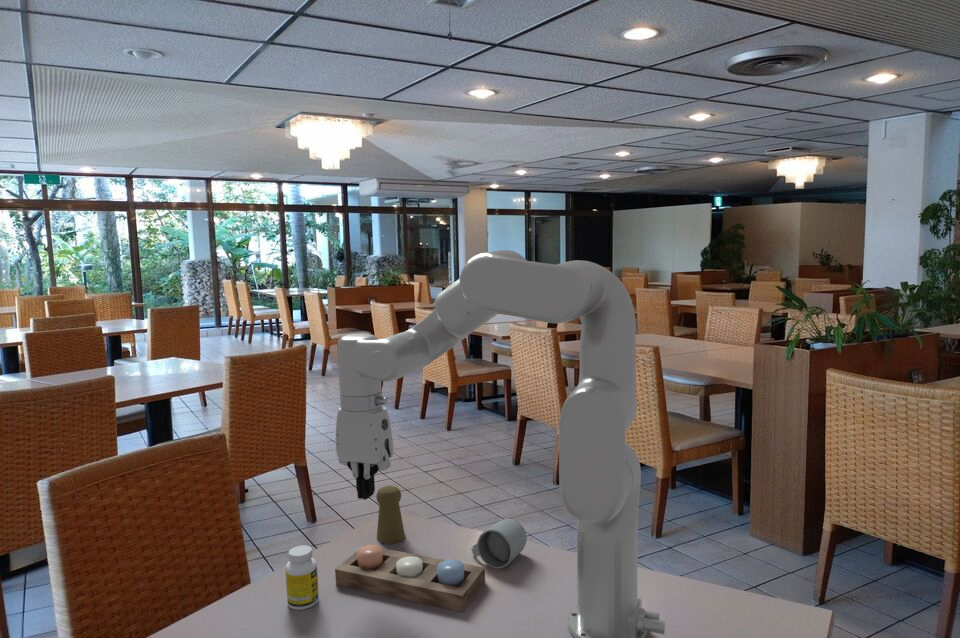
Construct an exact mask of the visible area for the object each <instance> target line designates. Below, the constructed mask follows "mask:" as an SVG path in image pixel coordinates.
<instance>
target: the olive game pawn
mask: <svg viewBox="0 0 960 638" xmlns="http://www.w3.org/2000/svg"><path fill="white" fill-rule="evenodd" d="M375 495H376V501H377V503H378V518H377V530H376V531H377V532H376V541H377V542H379V543H381V544H387V545H389V544H390V545H391V544H396V543H400V542H402V541H403V540H404V539H405V537H406V534H405V528H404V523H403V519H402V512H401V507H400V501H401V499H402V492H401V489H400V488H399V487H398V486H396V485H385V486H382V487H380V488H378V490H377V492H376V494H375Z"/></svg>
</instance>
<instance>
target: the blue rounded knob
mask: <svg viewBox="0 0 960 638" xmlns="http://www.w3.org/2000/svg"><path fill="white" fill-rule="evenodd" d="M444 560H445V561H442V562H440V563H439V564H438V566H437V572H438V583H439V584H444V585H449V586H454V587H459V586H460V585H461V584H462V583H463V581H464V564H465V563H463V562H462V561H461V560H459V559H444Z"/></svg>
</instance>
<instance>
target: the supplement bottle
mask: <svg viewBox="0 0 960 638" xmlns="http://www.w3.org/2000/svg"><path fill="white" fill-rule="evenodd" d="M317 564H318V563H317V561H316V559H315V558H313V548H312V547H311V546H309V545H304V544H303V545H297V546H294V547H292V548H291V549H289V550H288V562H287V563H286V565H285V570H284V571H285V581H286V599H287V606H288V607H289V608H291V609H293V610H294V611H295V610H296V611H300V610H306V609H311V608H313V606H315V605H317V603H318V601H319V596H320V595H319V577H318V575H319V574H318V566H317Z"/></svg>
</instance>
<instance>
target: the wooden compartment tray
mask: <svg viewBox="0 0 960 638" xmlns="http://www.w3.org/2000/svg"><path fill="white" fill-rule="evenodd" d="M366 545H367V544H364V545H363V546H366ZM382 549H383V564H381V565H380V566H379V567H378V568H377V569H376V570H371V569H366V568H361V567H358V562H357V551H356V552H355V551H354V553H353V554H352V555H350V557H348V558H347V559H345V560H344V561H343V562H342V563H340V564H339V566H337V567H336V568H335V569H334V573H335V576H334V577H335V584H336V585H338V586H342V587H343V586H344V587H348V588H352V589H356V590H360V591H365V592H370V593H374V594H379V595H383V596H388V597H393V598H398V599H401V600H404V601H405V600H406V601H411V602H415V603H419V604H424V605H428V606H433V607H438V608H443V609H447V610H452V611H456V612H461V613H464V611H466V609H467V607H468V606H469V605H470V603H471V602H472V601H473V599H475V597H476V595H478V592H479V591H480V590H481V589H482V588H483V586H484V585H485V583H486V570H485V569H486V568H485V567H484V566H479V565H473V564H469V563H463V564H464V581H463V583H462V584H461V585H460V586H459V587H454V586H449V585H444V584H439V583H438V572H437V566H438V564H439V563H440V562H442V561H445V560H446V559H441V558H436V557H431V556H426V555H421V554H414V553H409V552H404V551H401V550H400V551H399V550H394V549H387V548H382ZM409 556H414V557H418V558H420V559H421V560H422V566H423V572H422V573H421V574H420V575H419V576H418V577H417V578H416V579H415V578H410V577H405V576H400V575H397V569H396V563H397V561H398V560H399V559H401V558H404V557H409Z"/></svg>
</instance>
